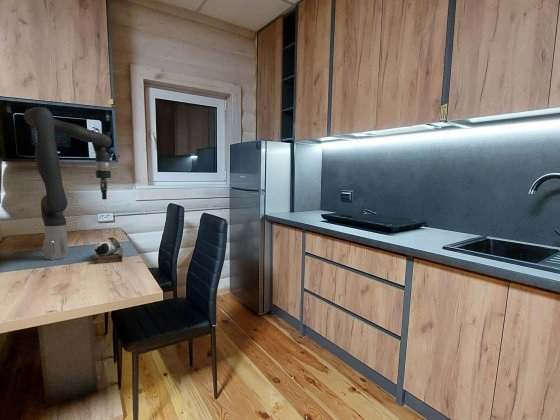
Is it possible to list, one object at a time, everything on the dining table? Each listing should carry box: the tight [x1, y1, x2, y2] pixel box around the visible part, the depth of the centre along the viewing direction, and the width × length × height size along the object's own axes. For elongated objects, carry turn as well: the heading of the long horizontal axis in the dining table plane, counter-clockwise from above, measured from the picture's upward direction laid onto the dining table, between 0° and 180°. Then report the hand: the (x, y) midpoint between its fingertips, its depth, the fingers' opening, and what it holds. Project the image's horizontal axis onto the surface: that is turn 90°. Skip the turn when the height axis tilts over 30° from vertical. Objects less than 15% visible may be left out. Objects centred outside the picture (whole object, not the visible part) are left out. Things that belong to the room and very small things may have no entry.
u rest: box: [93, 247, 124, 265], centre depth 156 cm, size 18×12×3 cm, turn 26°
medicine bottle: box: [94, 236, 123, 256], centre depth 158 cm, size 7×7×12 cm
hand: (104, 199), depth 175 cm, fingers closed
